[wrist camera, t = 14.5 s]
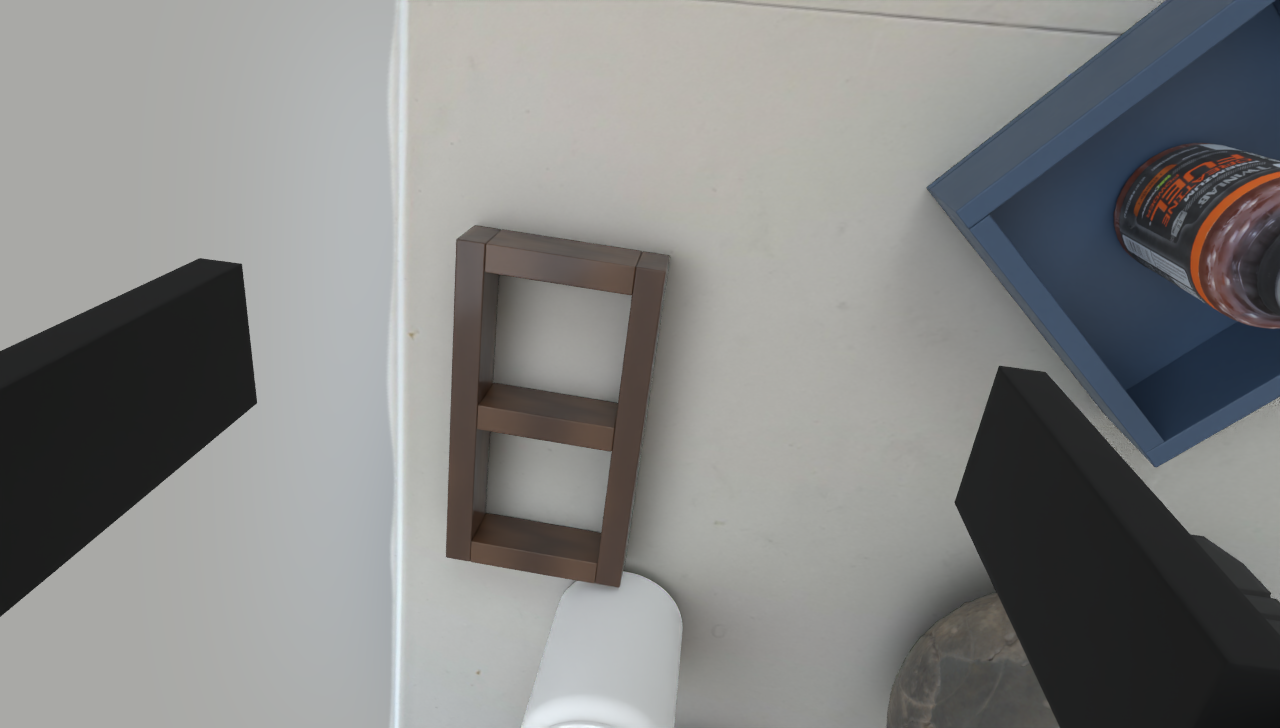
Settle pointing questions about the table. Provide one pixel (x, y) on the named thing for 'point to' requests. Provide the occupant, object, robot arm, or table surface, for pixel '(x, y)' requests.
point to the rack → (546, 403)
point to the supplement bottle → (1208, 227)
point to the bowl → (969, 675)
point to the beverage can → (609, 659)
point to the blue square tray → (1084, 218)
